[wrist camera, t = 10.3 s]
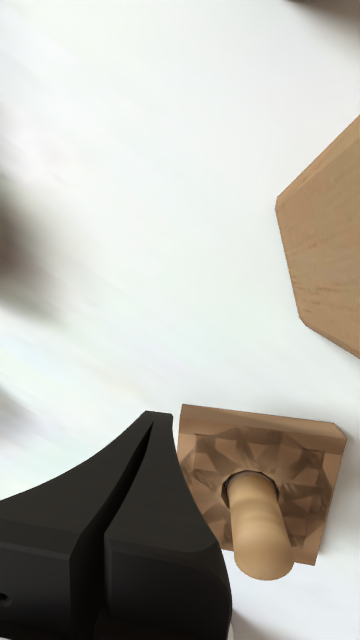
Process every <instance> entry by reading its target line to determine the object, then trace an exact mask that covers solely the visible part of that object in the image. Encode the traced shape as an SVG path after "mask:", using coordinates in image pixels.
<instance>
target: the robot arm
mask: <svg viewBox="0 0 360 640" xmlns="http://www.w3.org/2000/svg"><path fill="white" fill-rule="evenodd" d="M172 426H173V416H172V414H169V413H161V412H153V411H145V412H143V413H142V414H141V415H140V416H139V417H138V418H137V419H136V420H135V421H134V422H133V423H132V424H131V425H130V426H129V427H128V428H127V429H126V430H125V431H124V432H123V433H122V434H120V435H119V436H118V437H117V438H116V439H115V440H113V441H112V442H111V443H110V444H108V445H107V446H106V447H105V448H103V449H102V450H101V451H99V452H98V453H96V454H95V455H94V456H92V457H91V458H89V459H88V460H86V461H84V462H83V463H81V464H79V465H78V466H76V467H74V468H72V469H70V470H69V471H67V472H65V473H63V474H62V475H60V476H58V477H56V478H54V479H51V480H49V481H47V482H45V483H43V484H41V485H39V486H36V487H34V488H32V489H29V490H27V491H24V492H22V493H19V494H16V495H14V496H11V497H9V498H6V499H3V500H0V640H227V639H228V633H229V627H230V621H231V615H232V595H231V588H230V583H229V578H228V573H227V569H226V565H225V561H224V558H223V554H222V551H221V547H220V544H219V541H218V540H217V538H216V536H215V535H214V533H213V532H212V530H211V529H210V527H209V526H208V524H207V522H206V521H205V519H204V517H203V515H202V514H201V512H200V510H199V508H198V506H197V504H196V502H195V500H194V498H193V496H192V494H191V492H190V490H189V488H188V485H187V483H186V480H185V478H184V475H183V473H182V470H181V467H180V464H179V460H178V457H177V453H176V449H175V444H174V439H173V431H172Z"/></svg>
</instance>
